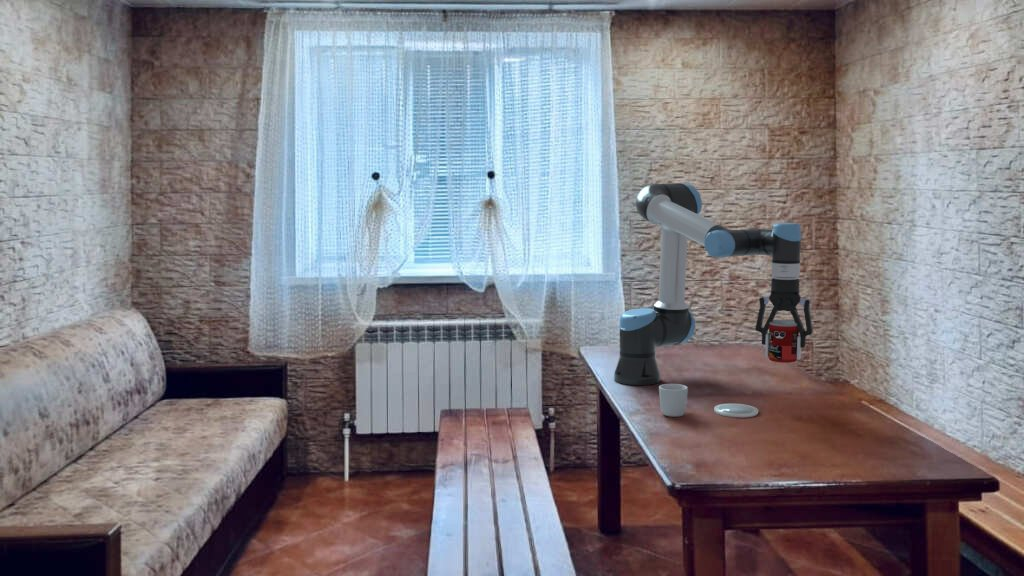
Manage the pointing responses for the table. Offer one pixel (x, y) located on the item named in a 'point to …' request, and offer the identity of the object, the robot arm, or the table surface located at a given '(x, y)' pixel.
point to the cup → (673, 399)
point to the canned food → (783, 341)
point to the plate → (736, 410)
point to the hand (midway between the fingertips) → (782, 357)
